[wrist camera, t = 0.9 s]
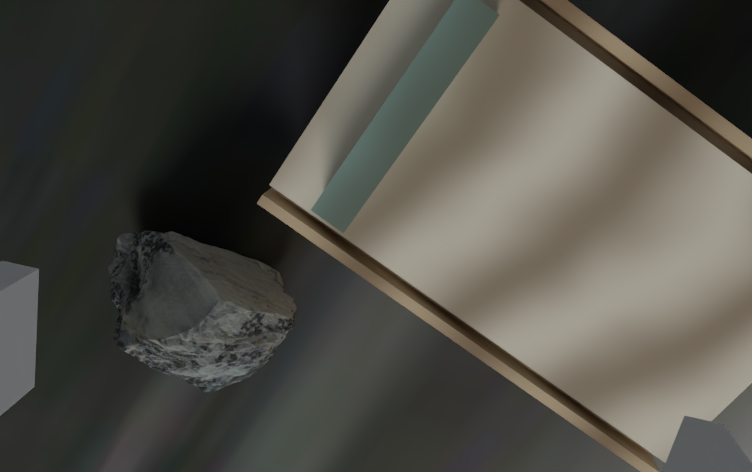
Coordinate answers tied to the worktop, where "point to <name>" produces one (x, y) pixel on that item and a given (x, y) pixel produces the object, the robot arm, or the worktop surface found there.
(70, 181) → the worktop surface
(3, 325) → the robot arm
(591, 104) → the cover plate
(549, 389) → the box
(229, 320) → the stone
